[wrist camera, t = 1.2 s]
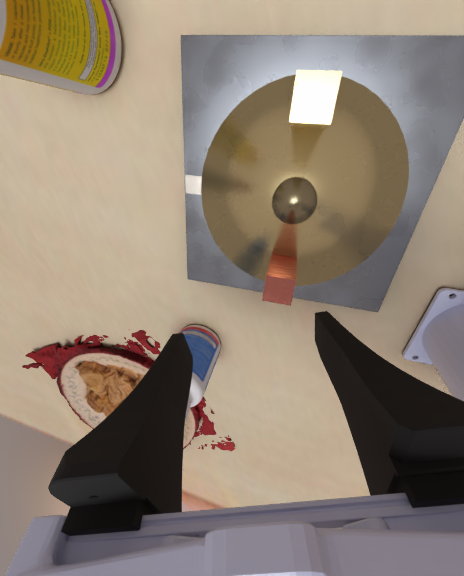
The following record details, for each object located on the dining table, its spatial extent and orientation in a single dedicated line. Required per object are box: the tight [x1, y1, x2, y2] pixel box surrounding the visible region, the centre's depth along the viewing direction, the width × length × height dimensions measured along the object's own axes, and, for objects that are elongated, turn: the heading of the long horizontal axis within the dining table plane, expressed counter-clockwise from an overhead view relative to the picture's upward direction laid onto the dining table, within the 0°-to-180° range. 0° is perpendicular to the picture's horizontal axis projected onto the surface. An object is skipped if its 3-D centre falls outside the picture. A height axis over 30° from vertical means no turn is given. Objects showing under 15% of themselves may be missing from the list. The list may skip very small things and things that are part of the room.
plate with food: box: [22, 330, 235, 451], centre depth 39 cm, size 25×26×4 cm
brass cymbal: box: [201, 70, 409, 305], centre depth 17 cm, size 14×14×6 cm
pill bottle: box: [180, 325, 221, 421], centre depth 26 cm, size 6×5×10 cm
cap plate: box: [181, 35, 464, 312], centre depth 20 cm, size 18×18×1 cm
